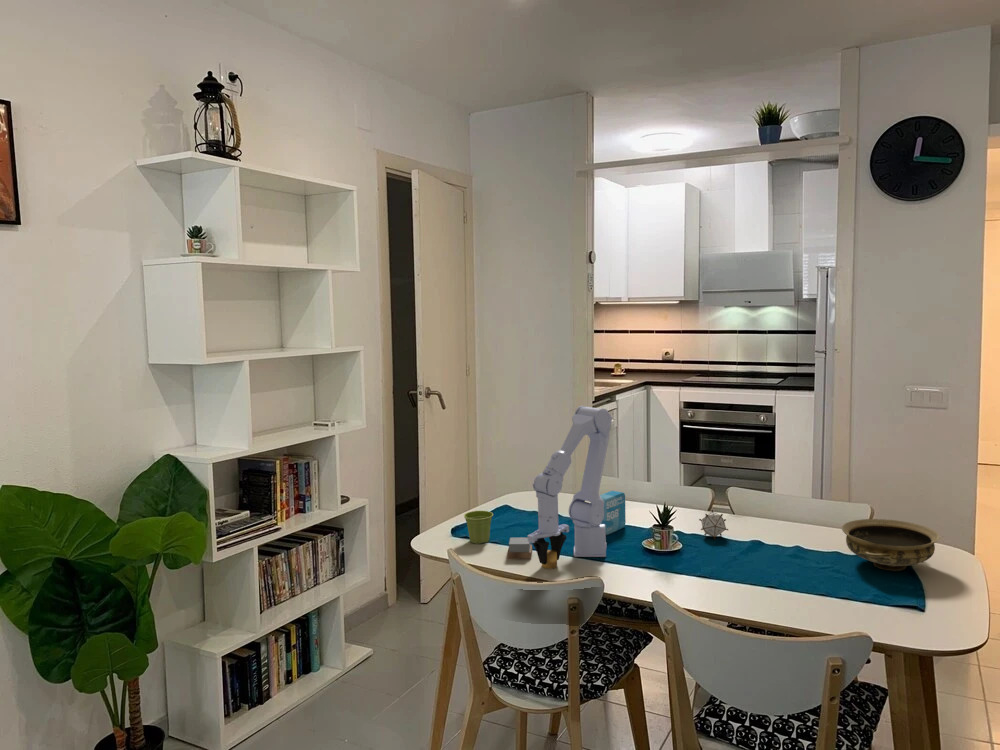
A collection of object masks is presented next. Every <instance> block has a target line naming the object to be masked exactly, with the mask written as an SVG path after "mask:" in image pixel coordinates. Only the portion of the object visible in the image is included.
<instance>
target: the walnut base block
mask: <svg viewBox="0 0 1000 750" xmlns="http://www.w3.org/2000/svg"><path fill="white" fill-rule="evenodd" d="M506 553H507V555H506V556H507V560H532V557H533V544H530V552H509V547H508V548H507V552H506Z"/></svg>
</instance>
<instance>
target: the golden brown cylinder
mask: <svg viewBox="0 0 1000 750" xmlns="http://www.w3.org/2000/svg"><path fill="white" fill-rule="evenodd" d="M557 567H558V560H557V552H556V551H554V550H551V549H548V550H547V563H546V564H542V563H541V568H543V569H548V570H549V569H550V570H552V569H556V568H557Z"/></svg>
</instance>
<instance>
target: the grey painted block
mask: <svg viewBox="0 0 1000 750" xmlns="http://www.w3.org/2000/svg"><path fill="white" fill-rule="evenodd" d="M530 545H531V543H530V542H528V536H527V537H509V541H508V548H509V552H530Z"/></svg>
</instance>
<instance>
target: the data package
mask: <svg viewBox="0 0 1000 750" xmlns="http://www.w3.org/2000/svg"><path fill="white" fill-rule="evenodd" d="M599 495H600V497H601V498H602V499H603V501H604V518H603V521H602V522H601V523H600V524H605V533H606V536H608V535H610V534H613V533H614V532H617V531H619V530H621V529H623V528H624V527H625V526H626V494H625V492H622V491H616V490H610V491H608V492H605V493H601V494H599Z"/></svg>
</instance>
